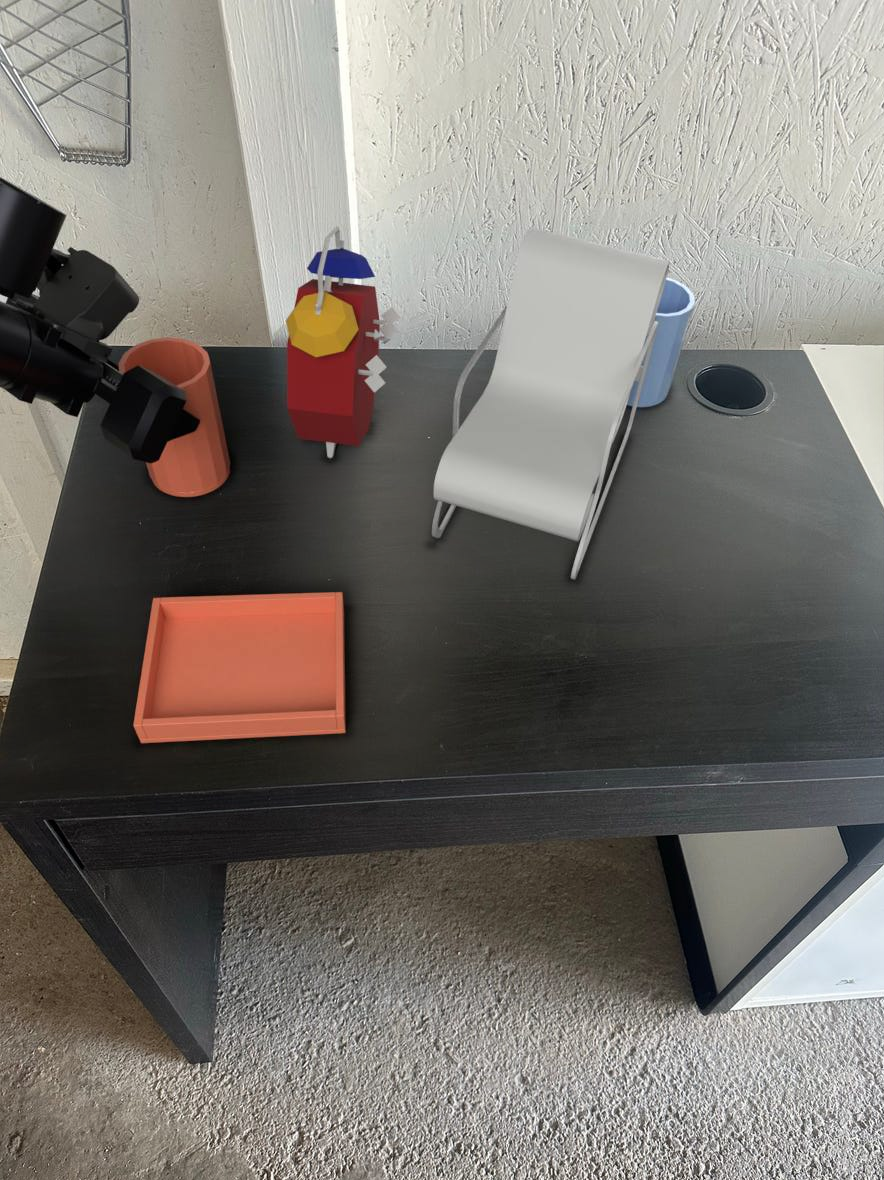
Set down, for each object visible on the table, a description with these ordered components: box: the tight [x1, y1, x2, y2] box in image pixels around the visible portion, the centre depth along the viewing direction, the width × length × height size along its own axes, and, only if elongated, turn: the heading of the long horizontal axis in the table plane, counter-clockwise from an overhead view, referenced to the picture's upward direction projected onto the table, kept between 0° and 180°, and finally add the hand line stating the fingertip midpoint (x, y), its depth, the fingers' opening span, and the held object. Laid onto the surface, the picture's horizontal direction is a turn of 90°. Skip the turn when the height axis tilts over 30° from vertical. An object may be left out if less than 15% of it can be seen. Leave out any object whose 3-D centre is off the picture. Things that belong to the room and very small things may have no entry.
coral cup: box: [117, 336, 231, 498], centre depth 80 cm, size 7×7×12 cm
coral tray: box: [132, 591, 347, 744], centre depth 70 cm, size 15×12×2 cm
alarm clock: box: [285, 225, 401, 459], centre depth 82 cm, size 15×9×20 cm, turn 174°
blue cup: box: [626, 277, 696, 408], centre depth 93 cm, size 7×7×11 cm
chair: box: [431, 226, 671, 580], centre depth 79 cm, size 13×25×20 cm, turn 161°
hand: (161, 401), depth 77 cm, fingers open, 9 cm apart
